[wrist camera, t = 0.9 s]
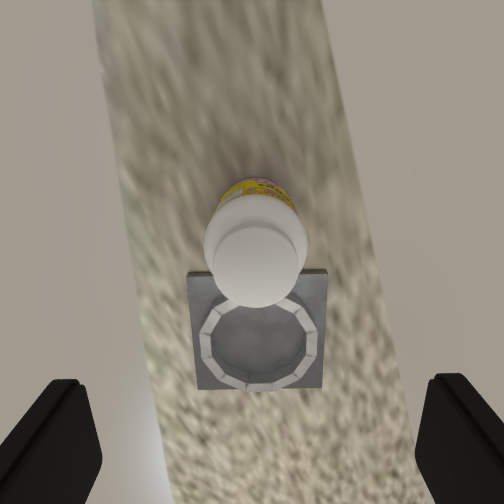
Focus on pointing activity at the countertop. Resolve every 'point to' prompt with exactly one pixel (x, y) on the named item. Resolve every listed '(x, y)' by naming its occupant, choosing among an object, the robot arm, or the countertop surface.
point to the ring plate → (258, 336)
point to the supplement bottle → (255, 244)
